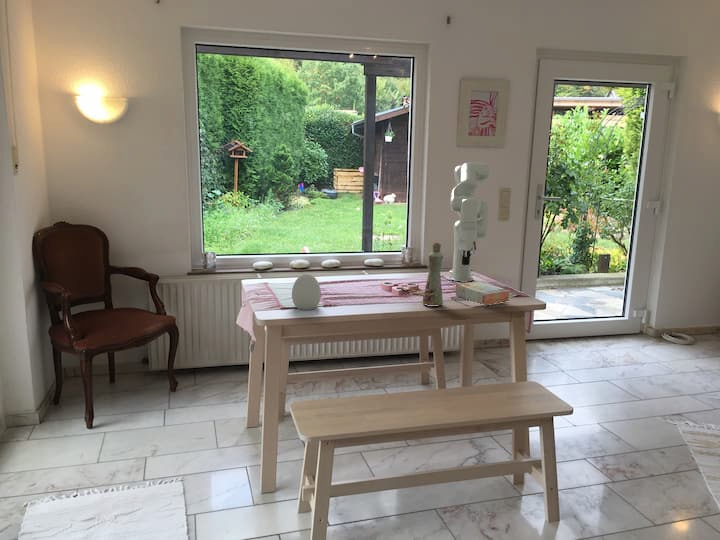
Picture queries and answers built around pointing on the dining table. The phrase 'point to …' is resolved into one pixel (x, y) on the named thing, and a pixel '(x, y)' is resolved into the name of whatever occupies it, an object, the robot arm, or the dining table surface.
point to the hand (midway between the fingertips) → (465, 264)
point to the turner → (417, 292)
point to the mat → (459, 298)
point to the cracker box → (482, 292)
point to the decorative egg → (306, 292)
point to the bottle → (434, 278)
